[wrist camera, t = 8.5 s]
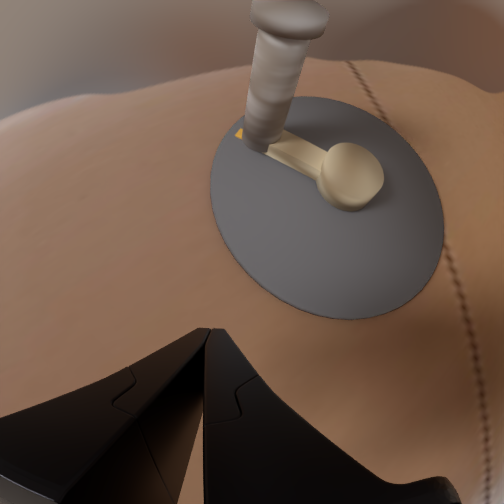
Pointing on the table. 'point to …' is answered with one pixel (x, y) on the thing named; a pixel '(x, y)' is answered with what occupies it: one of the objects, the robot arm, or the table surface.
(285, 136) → the crank handle
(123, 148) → the table surface
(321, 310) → the dial plate
